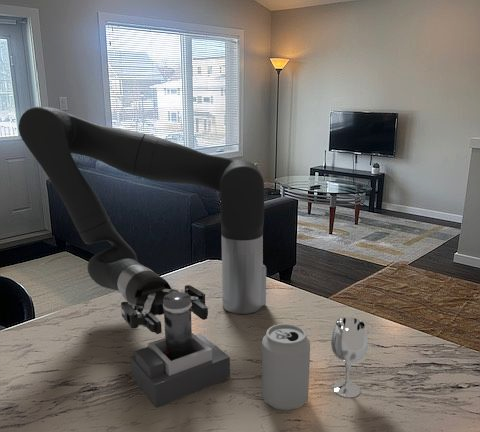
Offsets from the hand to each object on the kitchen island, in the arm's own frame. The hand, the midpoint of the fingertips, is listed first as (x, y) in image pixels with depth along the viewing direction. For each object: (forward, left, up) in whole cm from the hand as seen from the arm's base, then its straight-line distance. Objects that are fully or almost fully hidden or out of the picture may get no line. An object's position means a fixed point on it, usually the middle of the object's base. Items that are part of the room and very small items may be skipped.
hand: (183, 321), depth 78 cm
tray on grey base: (0, -2, -11) cm, 12 cm away
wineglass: (-21, +17, -12) cm, 30 cm away
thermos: (0, -2, -7) cm, 8 cm away
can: (-11, +13, -12) cm, 21 cm away
